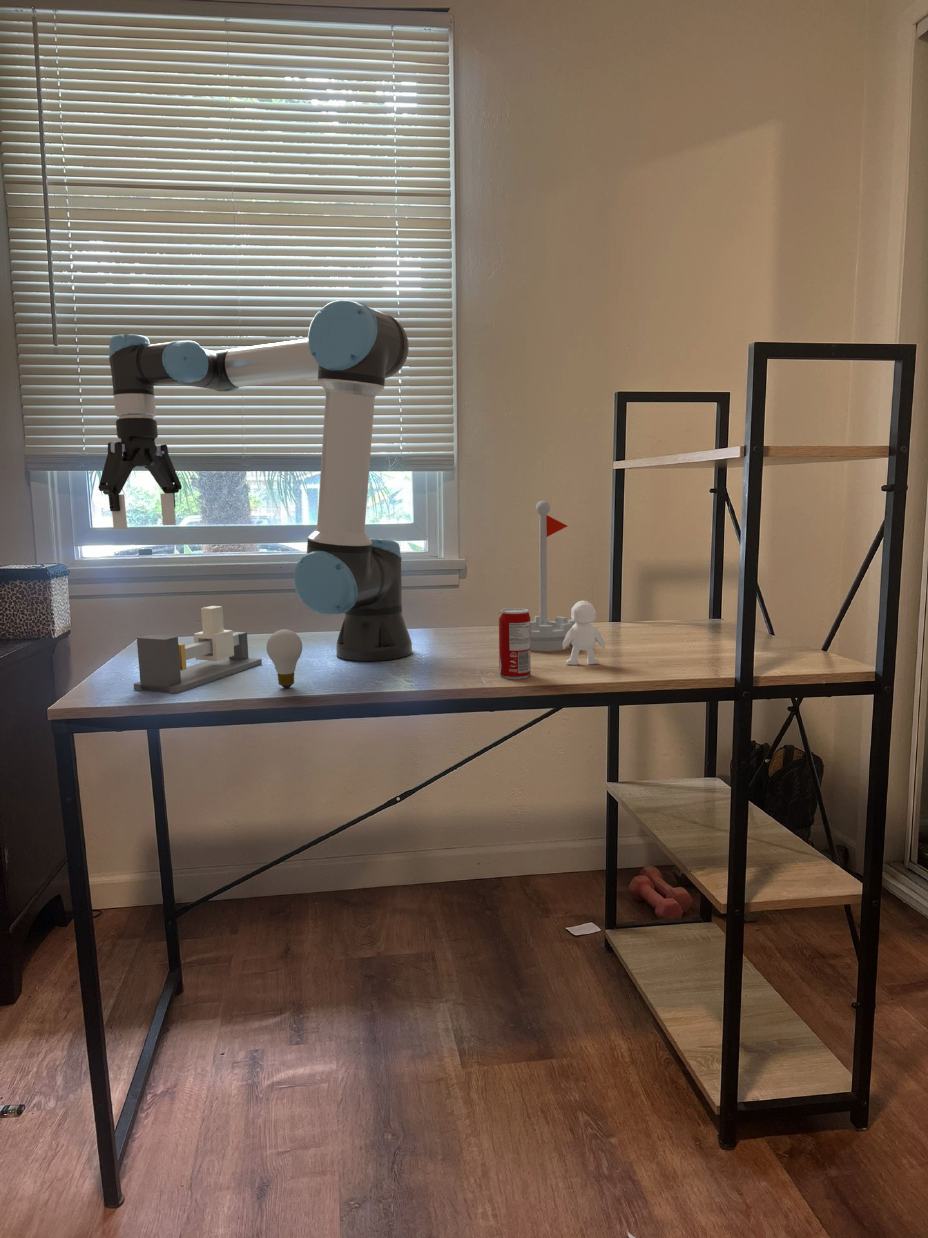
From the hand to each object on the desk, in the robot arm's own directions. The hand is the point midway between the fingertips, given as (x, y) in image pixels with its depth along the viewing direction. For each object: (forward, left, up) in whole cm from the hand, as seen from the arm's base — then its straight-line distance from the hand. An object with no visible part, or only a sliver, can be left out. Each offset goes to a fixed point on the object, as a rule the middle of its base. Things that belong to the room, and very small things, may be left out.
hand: (145, 527), depth 167 cm
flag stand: (-73, -32, -26) cm, 84 cm away
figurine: (-85, -17, -26) cm, 91 cm away
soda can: (-76, -4, -26) cm, 81 cm away
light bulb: (-42, +16, -26) cm, 52 cm away
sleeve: (-22, +9, -24) cm, 34 cm away
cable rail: (-22, +13, -26) cm, 37 cm away
